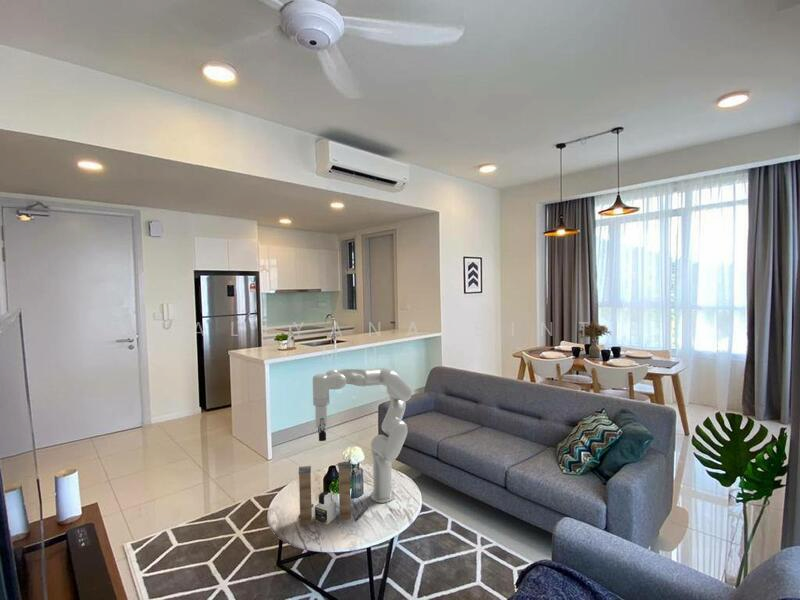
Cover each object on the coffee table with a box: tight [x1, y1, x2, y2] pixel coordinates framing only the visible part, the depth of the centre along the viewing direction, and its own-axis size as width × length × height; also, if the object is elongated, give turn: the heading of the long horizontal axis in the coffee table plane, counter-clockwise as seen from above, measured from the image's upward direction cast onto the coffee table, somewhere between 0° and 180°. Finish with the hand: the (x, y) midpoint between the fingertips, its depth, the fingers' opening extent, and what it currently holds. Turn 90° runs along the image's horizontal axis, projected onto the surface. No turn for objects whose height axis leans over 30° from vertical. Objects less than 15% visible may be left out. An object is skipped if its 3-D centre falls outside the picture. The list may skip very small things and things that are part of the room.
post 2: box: [337, 461, 352, 521], centre depth 181 cm, size 5×5×25 cm
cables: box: [298, 503, 368, 521], centre depth 184 cm, size 11×31×1 cm, turn 85°
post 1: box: [298, 465, 313, 526], centre depth 177 cm, size 5×5×25 cm
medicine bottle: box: [314, 491, 337, 526], centre depth 179 cm, size 7×7×12 cm
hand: (322, 436), depth 180 cm, fingers open, 9 cm apart
